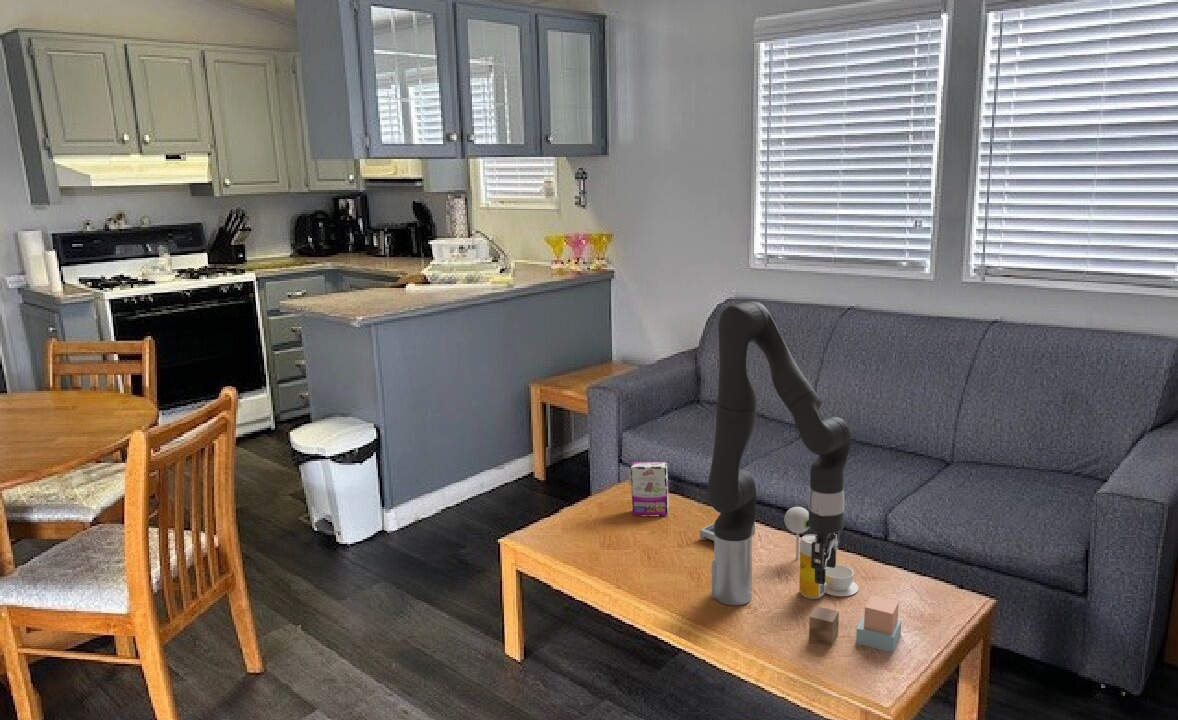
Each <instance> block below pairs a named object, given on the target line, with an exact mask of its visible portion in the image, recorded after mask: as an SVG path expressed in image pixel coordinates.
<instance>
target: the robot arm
mask: <svg viewBox="0 0 1178 720" xmlns="http://www.w3.org/2000/svg"><path fill="white" fill-rule="evenodd" d="M753 342H754V343H755V344H756V346H757V347H758V348H759V349H760V350H761V351H762V353H763V354H764V356H765V358H766V359H767V363H768V365H769V370H770V371H769V372H770V374H771V380H772V385H773V386H774V389H775V392H776V393H777V394H778V396H779V398H780V400H781V401H782V402H783V404H784V405H785V406H786V408H787V409H788V411H789V412H790V413H791V415H792V417H793V420H794V423H795V426H796V428H797V431H798V433H799V436H800V438H801V442H802V443H803V445H804V446H805V447H806V448H807V449H808V451H810V452H811V453H812V454H814V455H817V456H818V458H817V459H816V460H815V461H813V463H811V466H810V469H809V470H810V471H809V472H810V474H809V479H810V480H809V494H808V512H809V529H811V530H812V531H814V532H816V535H817V536H815V540H814V542H812V544H811V545H812V552H811V568H813V569H815V583H818V584H825V582H826V566H827V567H831V568H835V566H836V565H837V552H838V550H839V549H838V547H839V546H840V543H841V541H840V540H841V539H840V535H841V533H840V532H841V531H843V529H844V527H845V492H844V478H845V477H844V476H845V475H844V470H845V467H846V464H847V461H848V458H849V457H848V456H849V452H850V447H851V442H852V433H851V430H850V427H849V425H848V423H847V422H846V421H845V420H844V419H843V418H841V417H839V416H831V417H827V418H824V419H821V417H820V415H819V412H818V410H819V409H821V406H822V404H823V402H822V400H821V397H820V395H818V393H817V391H816V390H815V389H814V387H813V386H812V385H811V383H810V382H809V381H808V379H807V378H806V376H805V375H804V374H803V372H802V371H801V369H800V367H799V366H798V364H797V363H796V361H795V359H794V357H793V356H792V354H791V352H790V349H789V348H788V346H787V344H786V342H785V340H784V338H783V336H782V335H781V333H780V330H779V328H778V326H777V325H776V322H775V320H774V319H773V317H772V315H771V313H770V311H769V310H768V309H767V308H766V306H765V305H763V304H762V303H761V302H759V301H747V302H743V303H736V304H732V305H729V306H727V307H726V308H724V309H722V312H721V314H720V316H719V320H718V351H719V352H718V354H719V357H718V358H719V363H718V364H719V366H718V367H719V368H718V390H717V399H716V410H715V411H716V413H715V432H714V443H713V454H712V461H711V467H710V472H709V477H708V483H707V496H708V501H709V503H710V505H711V507H712V508H713V509H714V510H715V511H716V512H717V513H719V516H717V518H716V520H715V521H714V523H715V524H714V541H713V544H714V550H713V551H714V553H713V554H714V556H713V557H714V559H713V561H712V562H711V566H710V567H711V598H713V599H715V600H716V601H717V602H719V603H721V604H725V605H727V606H742V605H743V606H744V605H746V604H747V603H749V602H750V601H752V597H753V594H752V593H753V534H752V528H753V525H754V523H755V521H756V516H757V515H756V513H757V511H756V510H757V485H756V483H755V479H754V478H753V476H752V474H751V473H750V472H748V471H747V470H746V469H744V468H741V467H740V466H741V461H742V458H743V455H744V453H745V450H746V448H747V446H748V443H749V441H750V439H751V436H752V433H753V432H754V428H755V425H756V420H757V419H756V416H757V403H758V402H757V401H758V398H757V393H756V390H755V387H754V385H753V383H752V381H751V379H750V376H749V373H748V370H747V369H748V368H747V354H748V352H747V351H748V347H749V343H753ZM824 553H825V554H824ZM818 559H819V560H820V563H818Z"/></svg>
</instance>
